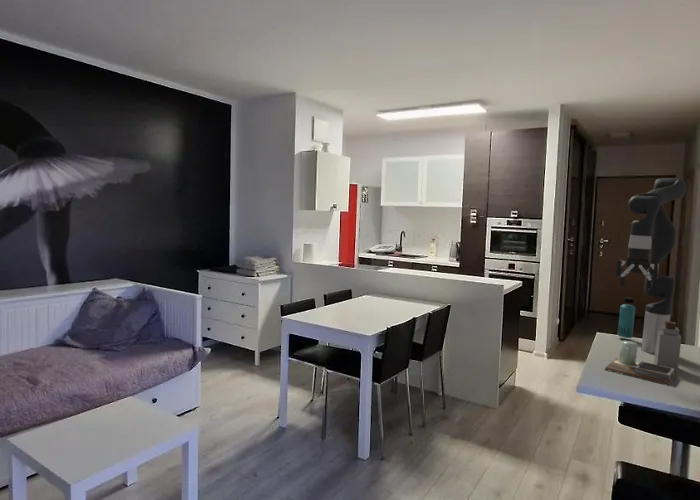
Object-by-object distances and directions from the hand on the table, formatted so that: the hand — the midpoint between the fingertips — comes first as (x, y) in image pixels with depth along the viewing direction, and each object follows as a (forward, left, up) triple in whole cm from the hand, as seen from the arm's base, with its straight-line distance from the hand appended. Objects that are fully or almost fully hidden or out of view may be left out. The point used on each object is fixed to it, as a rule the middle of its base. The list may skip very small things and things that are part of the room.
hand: (635, 288), depth 186 cm
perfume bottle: (-5, +12, -30) cm, 33 cm away
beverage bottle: (-39, -10, -30) cm, 50 cm away
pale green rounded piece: (+7, +1, -29) cm, 30 cm away
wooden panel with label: (+9, +7, -30) cm, 32 cm away
